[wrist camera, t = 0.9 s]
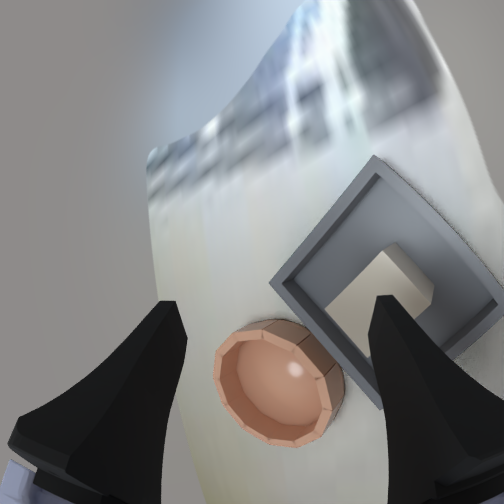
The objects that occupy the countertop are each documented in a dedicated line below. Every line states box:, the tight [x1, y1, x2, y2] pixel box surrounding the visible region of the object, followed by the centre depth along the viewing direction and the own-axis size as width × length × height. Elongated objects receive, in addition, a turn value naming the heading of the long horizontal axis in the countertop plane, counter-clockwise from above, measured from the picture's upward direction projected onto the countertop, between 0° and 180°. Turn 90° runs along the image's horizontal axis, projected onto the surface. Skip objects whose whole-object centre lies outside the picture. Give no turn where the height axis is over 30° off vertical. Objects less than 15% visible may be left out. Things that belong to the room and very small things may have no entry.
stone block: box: [325, 242, 434, 358], centre depth 18 cm, size 4×5×4 cm
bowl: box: [213, 319, 344, 448], centre depth 25 cm, size 12×12×3 cm
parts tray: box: [269, 155, 504, 410], centre depth 19 cm, size 13×12×2 cm
